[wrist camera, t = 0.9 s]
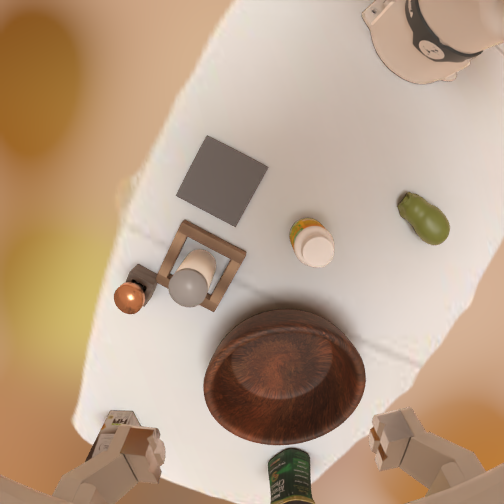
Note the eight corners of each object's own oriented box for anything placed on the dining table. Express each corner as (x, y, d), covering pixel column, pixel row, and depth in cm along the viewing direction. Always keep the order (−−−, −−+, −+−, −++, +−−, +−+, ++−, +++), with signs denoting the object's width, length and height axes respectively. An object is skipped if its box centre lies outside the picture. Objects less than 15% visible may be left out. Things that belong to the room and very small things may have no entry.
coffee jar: (288, 443, 61) (294, 511, 43) (314, 453, 62) (324, 518, 44) (261, 463, 63) (261, 527, 45) (287, 472, 64) (292, 533, 46)
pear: (440, 255, 43) (396, 211, 43) (428, 249, 48) (387, 209, 48) (460, 227, 42) (418, 183, 42) (447, 224, 47) (407, 184, 47)
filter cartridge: (192, 243, 49) (177, 263, 39) (221, 258, 50) (213, 282, 40) (179, 270, 50) (162, 295, 41) (207, 285, 51) (196, 313, 41)
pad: (207, 135, 44) (206, 135, 44) (268, 167, 46) (268, 167, 45) (176, 195, 47) (175, 195, 46) (235, 226, 48) (235, 227, 48)
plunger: (131, 269, 47) (119, 280, 42) (156, 282, 48) (146, 295, 43) (122, 291, 48) (110, 304, 43) (146, 304, 49) (136, 319, 44)
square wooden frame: (163, 208, 47) (155, 212, 44) (246, 252, 49) (245, 259, 45) (129, 284, 51) (121, 294, 47) (205, 324, 53) (201, 336, 49)
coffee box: (109, 409, 60) (82, 460, 44) (133, 410, 59) (109, 464, 44) (124, 437, 62) (103, 486, 47) (148, 438, 62) (130, 490, 46)
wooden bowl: (366, 301, 51) (387, 331, 41) (332, 410, 58) (341, 446, 48) (216, 286, 51) (206, 315, 41) (207, 402, 58) (200, 439, 48)
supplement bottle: (292, 214, 48) (301, 227, 38) (327, 220, 48) (343, 234, 38) (286, 249, 49) (293, 270, 40) (320, 254, 49) (334, 275, 40)
